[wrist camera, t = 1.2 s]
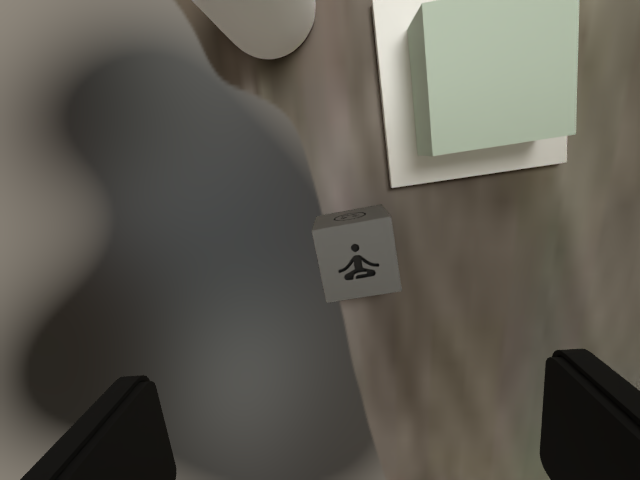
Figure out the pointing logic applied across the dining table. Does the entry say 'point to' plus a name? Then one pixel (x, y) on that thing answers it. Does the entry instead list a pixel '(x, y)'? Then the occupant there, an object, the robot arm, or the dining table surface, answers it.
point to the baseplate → (399, 123)
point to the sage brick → (493, 72)
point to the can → (262, 24)
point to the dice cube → (356, 253)
